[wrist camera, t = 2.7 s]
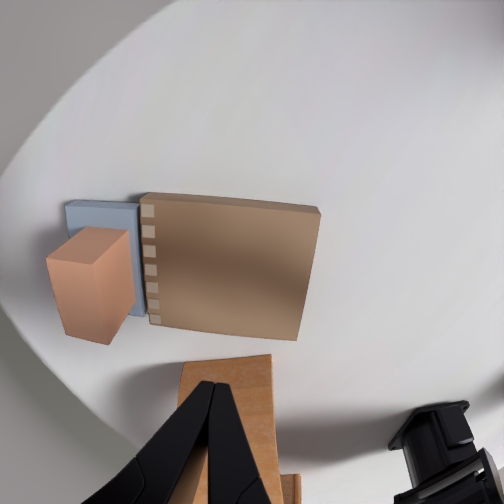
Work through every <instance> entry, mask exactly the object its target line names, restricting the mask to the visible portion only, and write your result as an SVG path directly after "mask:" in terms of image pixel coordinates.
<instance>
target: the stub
mask: <svg viewBox="0 0 504 504" xmlns="http://www.w3.org/2000/svg"><path fill="white" fill-rule="evenodd" d="M65 211H66V219H67V227H68V235H69V240H68V241H67V242H65V243H64V244H63V245H61V246H60V247H59V248H58V249H56V250H55V251H54V252H52V253H51V254H50V255H49V256H47V257H46V262H47V267H48V272H49V276H50V280H51V284H52V288H53V292H54V296H55V300H56V303H57V307H58V310H59V314H60V317H61V320H62V324H63V327H64V330H65V333H66V335H68V336H72V337H76V338H80V339H84V340H88V341H92V342H96V343H100V344H105V345H109V344H110V343H111V341H112V339H113V338H114V336H115V334H116V333H117V331H118V329H119V328H120V326H121V325H122V323H123V321H124V320H125V318H126V316H127V315H133V316H139V317H144V315H145V313H146V311H147V309H148V306H147V297H146V288H145V278H144V266H143V254H142V239H141V220H140V203H122V202H102V201H79V200H75V201H73V202H71V203H70V204H68V205H66V206H65Z"/></svg>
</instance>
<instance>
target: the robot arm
mask: <svg viewBox="0 0 504 504" xmlns="http://www.w3.org/2000/svg"><path fill="white" fill-rule="evenodd" d="M469 406H470V404H469V402H468V401H465V402H460V403H454V404H449V405H443V406H436V407H429V408H422V409H418V410H416V411H414V412H413V413H412V415H411V416H410V418H409V419H408V420H407V422H406V423H405V425H404V426H403V427H402V429H401V430H400V431H399V432H398V434H397V435H396V436H395V438H394V439H393V440H392V441H391V443H390V444H389V445H388V449H389V450H390V451H392V450H399V449H403V453H404V456H405V460H406V464H407V468H408V472H409V476H410V480H411V484H412V488H413V489H410V490H408V491H406V492H404V493H402V494H401V493H400V494H397V495H395V496H394V504H504V494H503V489H502V485H501V481H500V477H499V473H498V470H497V468H496V466H495V463H494V461H493V458H492V456H491V455H490V454H489V453H488V451H487V450H486V449H485V448H484V447H483V448H482V449H480V450H479V451H478V452H477V450H476V448H475V445H474V443H473V440H474V437H473V434H472V432H471V430H470V427H469V425H468V423H467V421H466V418H465V416H464V413H465V411H466V410H467V409H468V408H469ZM207 452H208V504H272V503H271V501H270V498H269V496H268V494H267V491H266V489H265V486H264V484H263V481H262V478H261V477H260V473H259V470H258V468H257V465H256V462H255V459H254V456H253V453H252V451H251V448H250V445H249V442H248V439H247V436H246V433H245V430H244V427H243V424H242V421H241V418H240V415H239V412H238V409H237V406H236V402H235V399H234V396H233V393H232V390H231V386H230V384H228V383H222V382H217V383H216V384H215V382H213V381H206V380H202V381H200V382H199V384H198V385H197V386H196V387H195V388H194V389H193V391H192V392H191V393H190V394H189V395H188V397H187V398H186V399H185V400H184V401H183V402H182V403H181V405H180V406H179V407H178V408H177V409H176V410H175V412H174V413H173V414H172V415H171V416H170V417H169V418H168V420H167V421H166V422H165V423H164V424H163V425H162V426H161V428H160V429H159V430H158V431H157V432H156V433H155V434H154V435H153V437H152V438H151V439H150V440H149V441H148V442H147V443H146V444H145V446H144V447H143V448H142V449H141V450H140V451H139V452H138V453H137V454H136V457H133V459H132V460H131V461H130V462H129V463H128V464H127V465H126V466H125V467H124V468H123V469H122V470H121V471H120V472H119V473H118V474H117V475H116V476H115V477H114V478H113V479H111V480H110V481H109V482H108V483H107V484H106V485H105V486H103V487H102V488H101V489H99V490H98V491H97V492H95V493H94V494H93V495H92V496H90V497H89V498H88V499H86V500H85V501H84V502H82V503H81V504H193V501H194V497H195V494H196V490H197V487H198V484H199V480H200V477H201V473H202V470H203V466H204V463H205V459H206V456H207ZM482 468H484V471H483V472H481V473H480V474H479V473H478V471H479V470H481V469H482Z"/></svg>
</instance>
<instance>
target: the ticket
mask: <svg viewBox="0 0 504 504" xmlns="http://www.w3.org/2000/svg"><path fill="white" fill-rule="evenodd" d="M320 218H321V214H320V212H319V210H318V208H317V207H314V206H306V205H297V204H288V203H279V202H269V201H259V200H248V199H237V198H226V197H213V196H200V195H186V194H170V193H153V192H149V193H147V194H146V195H145V196H143V197H142V198H140V220H141V239H142V254H143V266H144V278H145V288H146V297H147V306H148V314H149V322H150V324H152V325H158V326H164V327H171V328H178V329H185V330H192V331H200V332H207V333H216V334H224V335H233V336H243V337H253V338H264V339H276V340H289V341H297V336H298V332H299V327H300V323H301V318H302V313H303V309H304V304H305V299H306V294H307V289H308V284H309V279H310V274H311V269H312V264H313V258H314V253H315V247H316V242H317V236H318V230H319V224H320Z"/></svg>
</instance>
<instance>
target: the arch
mask: <svg viewBox="0 0 504 504" xmlns="http://www.w3.org/2000/svg"><path fill="white" fill-rule="evenodd" d="M202 380H206V381H213V382H215V384H216V383H217V382H222V383H228V384H230V386H231V390H232V393H233V396H234V399H235V402H236V406H237V409H238V412H239V415H240V418H241V421H242V424H243V427H244V430H245V433H246V436H247V439H248V442H249V445H250V448H251V451H252V453H253V456H254V459H255V462H256V465H257V468H258V470H259V473H260V477H261V478H262V481H263V484H264V486H265V489H266V491H267V494H268V496H269V498H270V501H271V503H272V504H301V476H300V474H295V475H293V474H289V475H280V473H279V464H278V454H277V444H276V432H275V419H274V402H273V377H272V356H271V354H268V355H260V356H252V357H242V358H232V359H221V360H209V361H195V362H185V364H184V367H183V371H182V376H181V381H180V387H179V393H178V404H177V408H178V407H179V406H180V405H181V403H182V402H183V401H184V400H185V399H186V398H187V397H188V395H189V394H190V393H191V392H192V391H193V389H194V388H195V387H196V386H197V385H198V384H199V382H200V381H202ZM193 504H208V452H207V456H206V459H205V463H204V466H203V470H202V473H201V477H200V480H199V484H198V487H197V490H196V494H195V497H194V501H193Z"/></svg>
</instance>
